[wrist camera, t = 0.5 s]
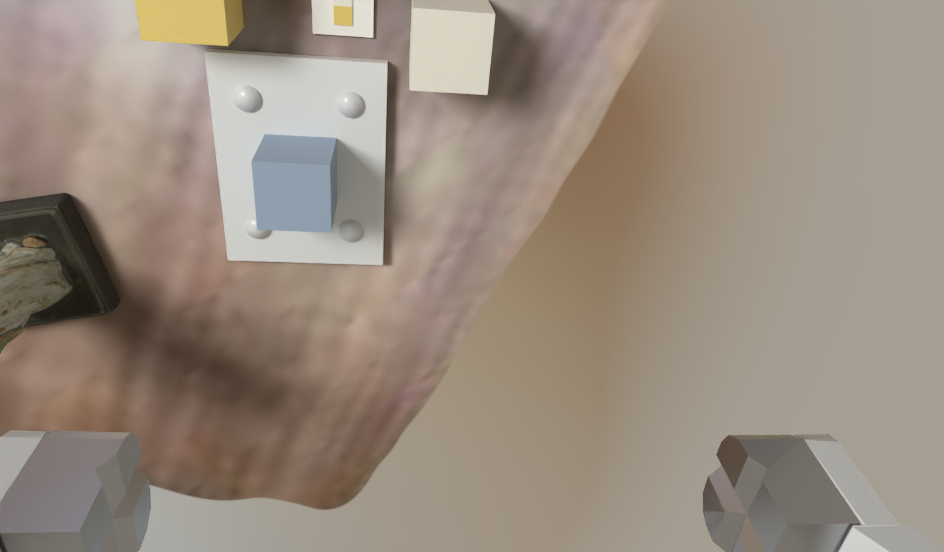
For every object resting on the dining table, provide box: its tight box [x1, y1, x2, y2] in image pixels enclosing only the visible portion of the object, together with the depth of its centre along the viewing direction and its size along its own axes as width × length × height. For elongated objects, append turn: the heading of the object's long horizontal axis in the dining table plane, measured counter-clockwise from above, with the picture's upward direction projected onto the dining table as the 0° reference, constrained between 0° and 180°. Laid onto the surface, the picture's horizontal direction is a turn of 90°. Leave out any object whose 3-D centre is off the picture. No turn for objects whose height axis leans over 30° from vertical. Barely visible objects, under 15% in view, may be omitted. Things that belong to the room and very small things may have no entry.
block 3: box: [409, 0, 495, 95], centre depth 45 cm, size 5×5×5 cm
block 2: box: [251, 134, 337, 233], centre depth 49 cm, size 5×5×5 cm
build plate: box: [205, 49, 388, 265], centre depth 51 cm, size 16×12×1 cm
